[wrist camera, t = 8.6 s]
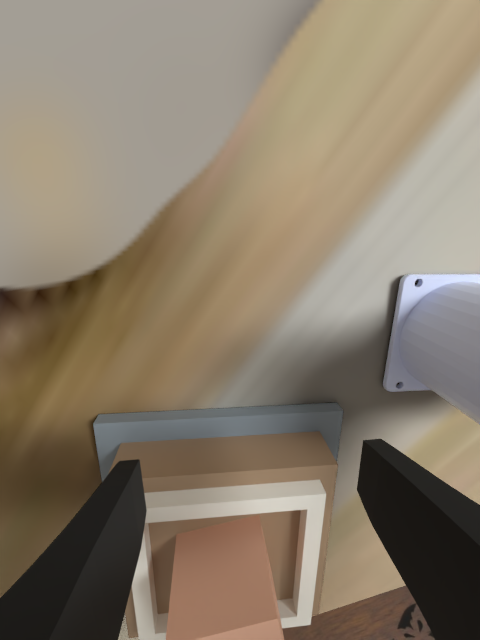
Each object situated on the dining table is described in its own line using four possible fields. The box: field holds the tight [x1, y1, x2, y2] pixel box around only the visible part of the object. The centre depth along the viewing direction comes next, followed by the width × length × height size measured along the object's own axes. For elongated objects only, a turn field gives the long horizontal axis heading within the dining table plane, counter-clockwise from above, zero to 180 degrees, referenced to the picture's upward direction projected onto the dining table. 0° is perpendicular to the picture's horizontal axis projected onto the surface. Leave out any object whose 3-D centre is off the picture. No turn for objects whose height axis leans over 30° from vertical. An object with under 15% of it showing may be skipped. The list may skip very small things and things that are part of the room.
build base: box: [93, 403, 343, 640], centre depth 20 cm, size 16×16×5 cm
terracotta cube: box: [166, 515, 284, 640], centre depth 16 cm, size 5×5×5 cm
